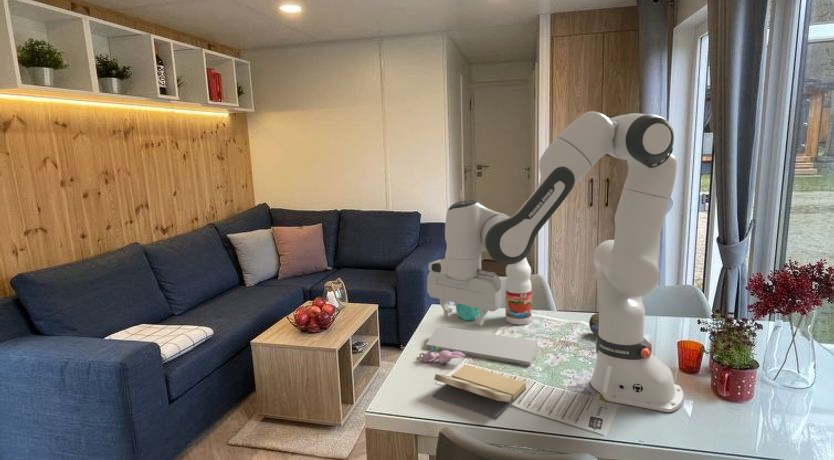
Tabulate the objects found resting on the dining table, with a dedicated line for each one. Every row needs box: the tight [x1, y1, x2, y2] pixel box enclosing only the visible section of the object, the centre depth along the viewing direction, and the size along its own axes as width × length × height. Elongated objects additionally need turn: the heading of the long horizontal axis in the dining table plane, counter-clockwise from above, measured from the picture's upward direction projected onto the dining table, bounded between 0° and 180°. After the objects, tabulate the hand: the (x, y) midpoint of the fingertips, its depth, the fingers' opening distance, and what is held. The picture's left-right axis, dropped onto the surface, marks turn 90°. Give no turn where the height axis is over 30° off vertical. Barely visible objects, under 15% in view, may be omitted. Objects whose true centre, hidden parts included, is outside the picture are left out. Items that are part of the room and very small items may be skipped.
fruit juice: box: [504, 256, 533, 326], centre depth 176 cm, size 9×9×28 cm
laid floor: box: [432, 364, 527, 420], centre depth 129 cm, size 19×17×2 cm
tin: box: [588, 312, 599, 337], centre depth 159 cm, size 15×3×8 cm, turn 40°
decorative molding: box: [425, 325, 539, 366], centre depth 155 cm, size 34×5×10 cm
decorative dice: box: [455, 303, 481, 322], centre depth 183 cm, size 8×8×8 cm
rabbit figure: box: [416, 345, 466, 365], centre depth 147 cm, size 6×6×15 cm
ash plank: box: [433, 374, 512, 402], centre depth 126 cm, size 19×8×2 cm, turn 53°
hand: (463, 319), depth 121 cm, fingers open, 8 cm apart
